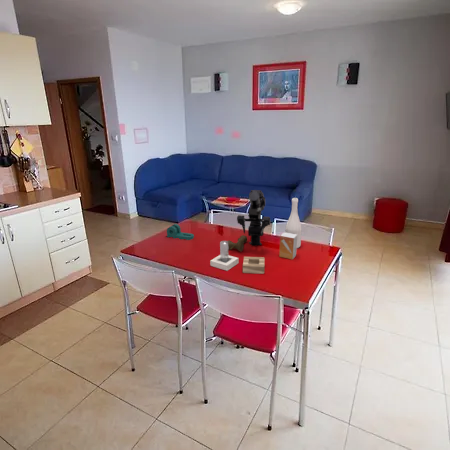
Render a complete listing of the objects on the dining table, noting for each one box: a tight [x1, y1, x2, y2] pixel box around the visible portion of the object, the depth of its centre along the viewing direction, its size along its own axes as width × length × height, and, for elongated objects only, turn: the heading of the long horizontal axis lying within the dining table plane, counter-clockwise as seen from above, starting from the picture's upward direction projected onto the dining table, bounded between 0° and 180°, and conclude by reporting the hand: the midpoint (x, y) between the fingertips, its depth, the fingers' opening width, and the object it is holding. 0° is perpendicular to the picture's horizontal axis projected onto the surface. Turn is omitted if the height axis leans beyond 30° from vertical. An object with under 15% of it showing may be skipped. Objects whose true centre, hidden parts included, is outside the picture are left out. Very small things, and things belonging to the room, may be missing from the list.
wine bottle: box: [284, 197, 302, 249], centre depth 189 cm, size 10×10×30 cm
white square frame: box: [209, 254, 240, 272], centre depth 172 cm, size 11×11×3 cm
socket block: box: [242, 256, 265, 275], centre depth 166 cm, size 11×11×4 cm
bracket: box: [166, 223, 195, 241], centre depth 211 cm, size 18×7×8 cm, turn 68°
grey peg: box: [219, 240, 230, 263], centre depth 170 cm, size 4×4×13 cm
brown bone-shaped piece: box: [227, 234, 248, 253], centre depth 192 cm, size 6×10×20 cm
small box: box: [278, 231, 298, 260], centre depth 178 cm, size 8×6×13 cm
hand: (252, 233), depth 177 cm, fingers open, 9 cm apart
